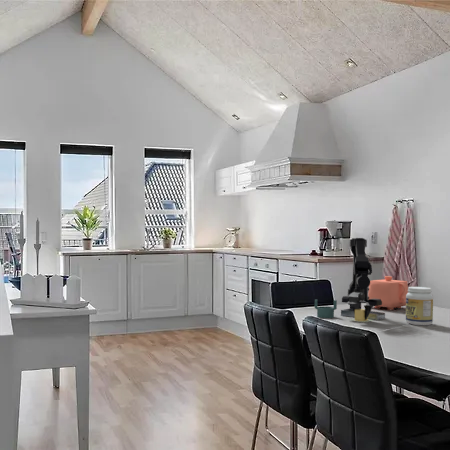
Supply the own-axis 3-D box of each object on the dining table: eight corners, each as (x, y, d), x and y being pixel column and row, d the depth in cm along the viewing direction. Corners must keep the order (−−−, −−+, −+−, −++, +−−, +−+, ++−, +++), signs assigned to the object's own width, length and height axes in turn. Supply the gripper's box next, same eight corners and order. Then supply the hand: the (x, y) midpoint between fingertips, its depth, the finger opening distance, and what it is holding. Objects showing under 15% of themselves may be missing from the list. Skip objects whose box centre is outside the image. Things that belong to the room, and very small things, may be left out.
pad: (357, 319, 293) (357, 318, 293) (374, 321, 287) (374, 320, 287) (347, 321, 287) (347, 320, 287) (364, 323, 281) (364, 322, 281)
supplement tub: (400, 322, 286) (400, 286, 286) (420, 321, 291) (421, 286, 291) (417, 326, 275) (417, 289, 275) (438, 325, 280) (439, 288, 280)
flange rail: (350, 314, 308) (350, 308, 308) (385, 319, 294) (385, 312, 294) (340, 316, 301) (341, 310, 301) (376, 321, 288) (376, 314, 288)
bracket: (338, 318, 295) (338, 300, 295) (323, 319, 291) (323, 301, 291) (326, 316, 303) (326, 298, 303) (311, 317, 298) (312, 299, 298)
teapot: (386, 303, 355) (386, 273, 355) (421, 308, 338) (421, 276, 338) (361, 307, 338) (362, 275, 338) (397, 311, 321) (397, 278, 321)
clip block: (359, 319, 290) (359, 308, 290) (367, 320, 287) (367, 309, 287) (354, 320, 287) (354, 309, 287) (362, 321, 284) (363, 310, 284)
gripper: (335, 285, 287) (335, 318, 287) (370, 288, 275) (370, 323, 275) (348, 284, 296) (347, 315, 296) (382, 287, 283) (382, 320, 283)
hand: (361, 318), depth 287 cm, fingers closed on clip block, 4 cm apart
